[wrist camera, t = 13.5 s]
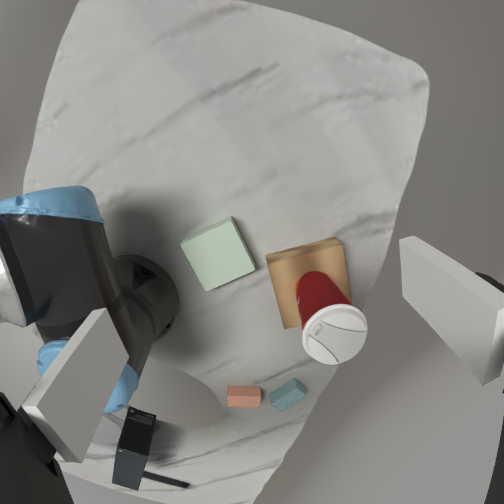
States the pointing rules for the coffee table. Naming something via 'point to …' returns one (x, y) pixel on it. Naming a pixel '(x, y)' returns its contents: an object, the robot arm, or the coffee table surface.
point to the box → (133, 448)
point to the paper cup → (328, 320)
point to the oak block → (299, 263)
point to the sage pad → (218, 254)
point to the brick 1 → (244, 396)
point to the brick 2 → (287, 394)
